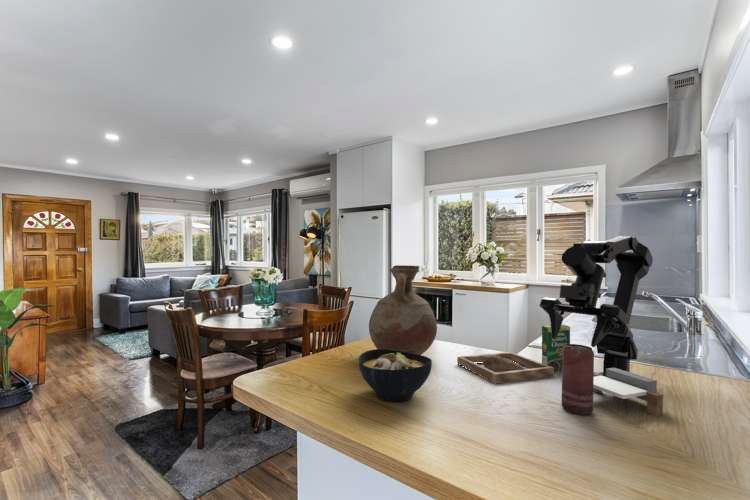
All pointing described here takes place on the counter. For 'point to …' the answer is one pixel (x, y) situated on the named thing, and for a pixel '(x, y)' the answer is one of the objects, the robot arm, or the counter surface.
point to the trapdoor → (624, 384)
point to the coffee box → (554, 346)
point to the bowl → (394, 373)
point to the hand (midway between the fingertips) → (572, 342)
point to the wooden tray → (500, 377)
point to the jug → (403, 317)
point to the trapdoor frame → (652, 401)
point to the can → (577, 379)
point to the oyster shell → (500, 364)
